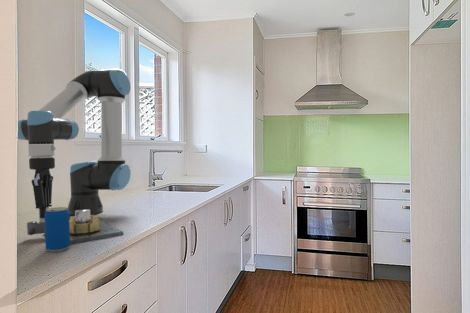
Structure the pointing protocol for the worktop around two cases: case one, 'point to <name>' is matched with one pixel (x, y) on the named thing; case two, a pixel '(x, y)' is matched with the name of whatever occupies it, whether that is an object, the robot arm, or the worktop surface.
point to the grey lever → (74, 228)
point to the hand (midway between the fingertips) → (44, 226)
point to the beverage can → (57, 229)
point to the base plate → (103, 232)
